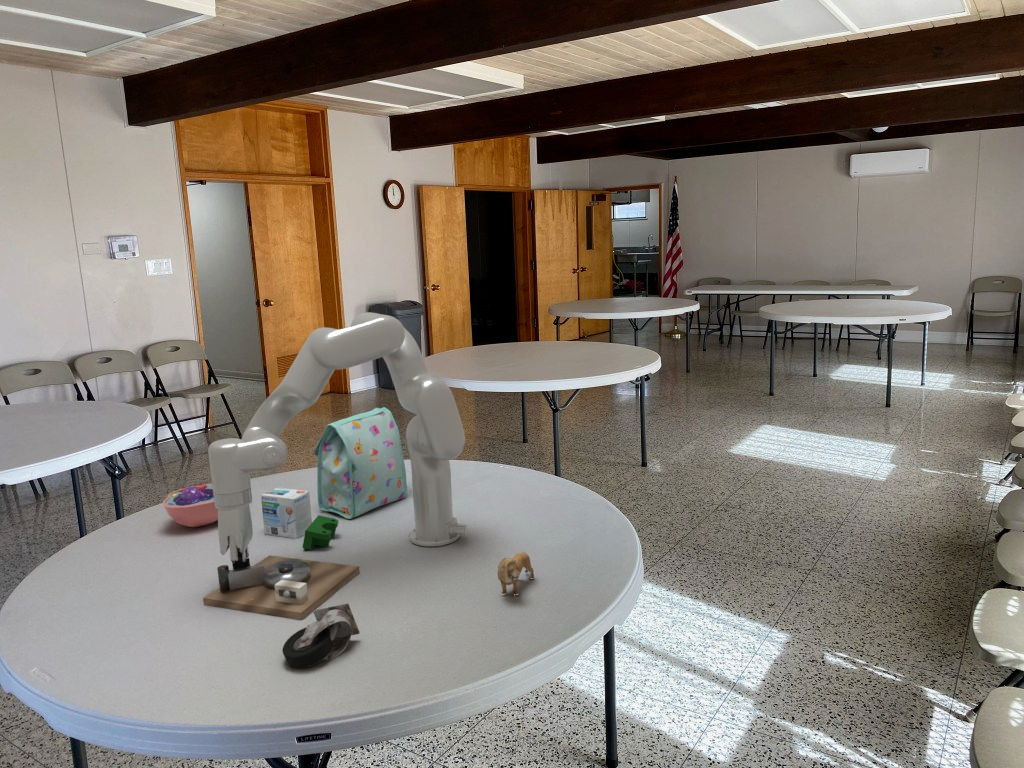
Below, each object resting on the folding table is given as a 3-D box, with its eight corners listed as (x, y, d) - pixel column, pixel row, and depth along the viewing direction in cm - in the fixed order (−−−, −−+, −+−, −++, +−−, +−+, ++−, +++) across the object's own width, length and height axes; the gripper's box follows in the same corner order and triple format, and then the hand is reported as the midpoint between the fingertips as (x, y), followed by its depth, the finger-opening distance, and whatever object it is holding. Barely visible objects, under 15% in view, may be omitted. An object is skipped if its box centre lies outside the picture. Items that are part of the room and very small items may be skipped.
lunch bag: (373, 488, 225) (367, 402, 220) (413, 497, 215) (407, 407, 210) (313, 512, 207) (304, 418, 202) (353, 523, 197) (346, 425, 192)
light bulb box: (263, 534, 192) (259, 494, 190) (280, 525, 198) (276, 486, 196) (297, 539, 188) (293, 498, 186) (313, 529, 194) (310, 490, 192)
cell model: (249, 510, 210) (245, 472, 208) (209, 538, 191) (204, 496, 189) (195, 508, 213) (190, 471, 211) (150, 535, 194) (144, 494, 192)
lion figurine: (519, 605, 149) (517, 564, 147) (493, 603, 151) (492, 561, 149) (537, 574, 163) (536, 535, 161) (514, 572, 164) (512, 534, 163)
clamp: (324, 563, 182) (325, 540, 178) (302, 559, 182) (303, 535, 178) (338, 531, 191) (340, 508, 187) (317, 526, 192) (318, 503, 187)
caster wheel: (285, 683, 130) (302, 643, 140) (348, 670, 129) (360, 631, 139) (271, 651, 128) (289, 613, 138) (335, 638, 127) (349, 601, 136)
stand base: (359, 572, 167) (357, 551, 166) (301, 620, 146) (299, 596, 145) (270, 561, 175) (268, 541, 174) (203, 605, 154) (200, 582, 153)
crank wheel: (307, 565, 168) (305, 543, 167) (313, 583, 159) (311, 560, 158) (219, 582, 161) (216, 559, 160) (220, 601, 152) (217, 577, 151)
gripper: (223, 487, 164) (233, 564, 167) (204, 510, 149) (215, 595, 153) (258, 484, 165) (267, 561, 168) (243, 507, 150) (253, 591, 154)
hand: (242, 577), depth 161 cm, fingers closed
